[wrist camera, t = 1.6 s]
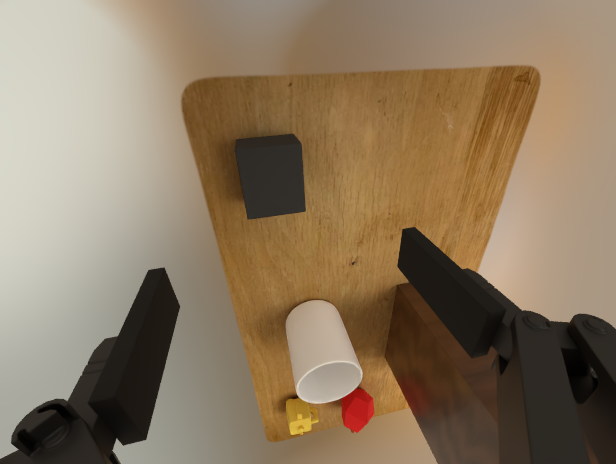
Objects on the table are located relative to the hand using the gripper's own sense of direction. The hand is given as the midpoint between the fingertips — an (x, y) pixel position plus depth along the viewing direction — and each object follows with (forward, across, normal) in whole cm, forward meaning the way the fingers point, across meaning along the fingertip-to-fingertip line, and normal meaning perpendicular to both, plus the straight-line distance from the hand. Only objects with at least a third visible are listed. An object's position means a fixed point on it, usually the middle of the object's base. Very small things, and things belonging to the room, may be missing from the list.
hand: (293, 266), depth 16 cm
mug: (+18, +5, -26) cm, 32 cm away
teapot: (+18, 0, -47) cm, 50 cm away
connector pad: (+18, 0, 0) cm, 18 cm away
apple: (+18, +11, -49) cm, 54 cm away
